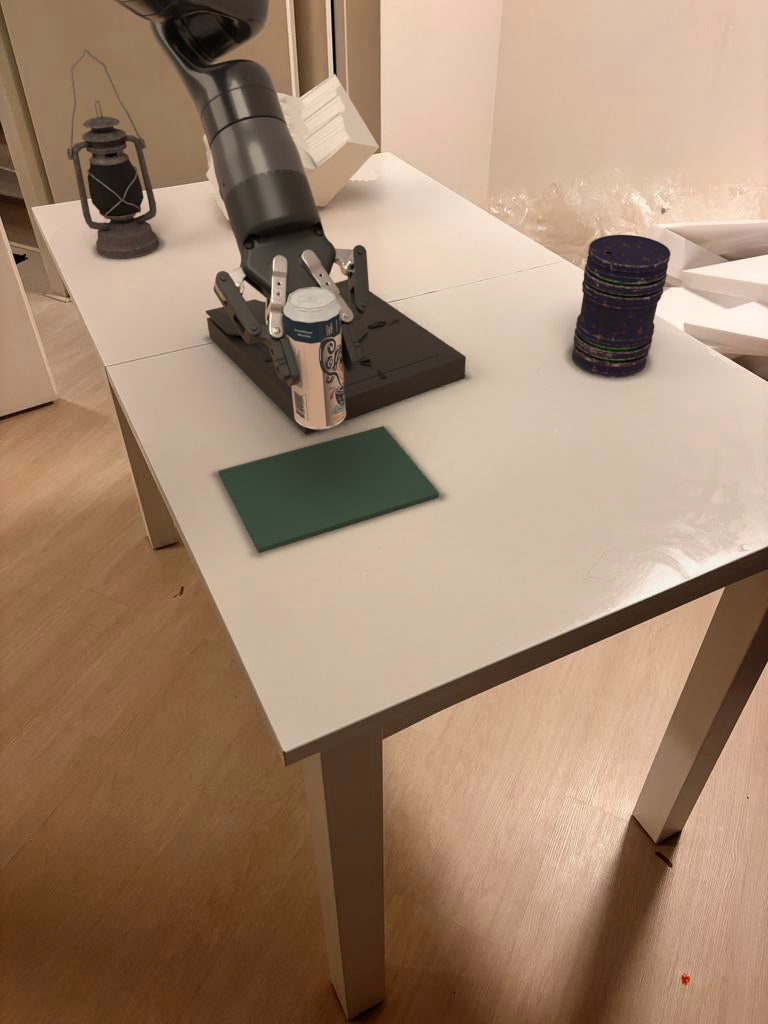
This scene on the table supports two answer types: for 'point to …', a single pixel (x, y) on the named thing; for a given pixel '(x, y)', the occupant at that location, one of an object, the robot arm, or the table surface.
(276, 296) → the robot arm
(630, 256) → the dark blue cylinder
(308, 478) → the mat
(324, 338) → the beer can
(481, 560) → the table surface
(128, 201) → the lantern
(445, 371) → the black flat block
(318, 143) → the white angular faceted block
